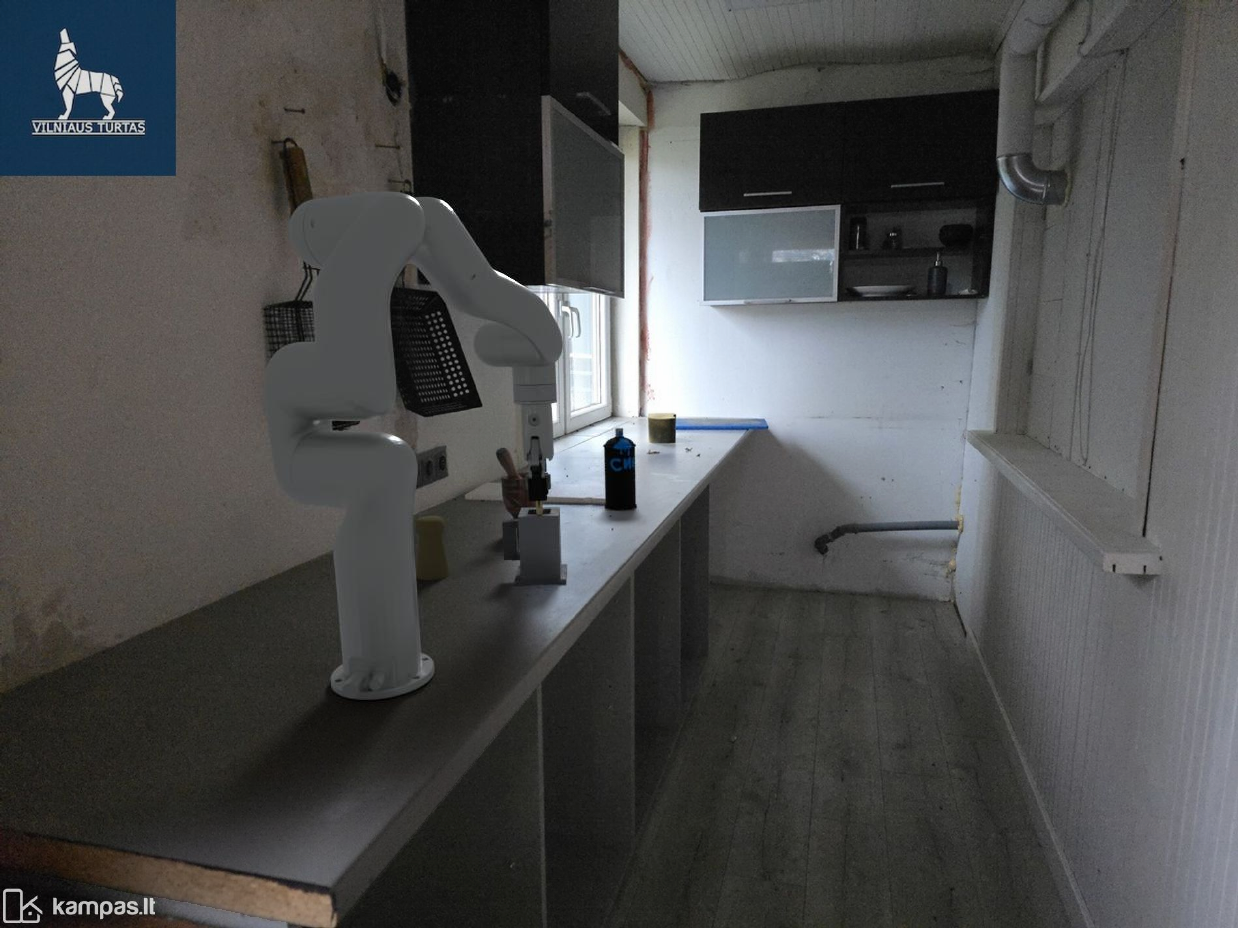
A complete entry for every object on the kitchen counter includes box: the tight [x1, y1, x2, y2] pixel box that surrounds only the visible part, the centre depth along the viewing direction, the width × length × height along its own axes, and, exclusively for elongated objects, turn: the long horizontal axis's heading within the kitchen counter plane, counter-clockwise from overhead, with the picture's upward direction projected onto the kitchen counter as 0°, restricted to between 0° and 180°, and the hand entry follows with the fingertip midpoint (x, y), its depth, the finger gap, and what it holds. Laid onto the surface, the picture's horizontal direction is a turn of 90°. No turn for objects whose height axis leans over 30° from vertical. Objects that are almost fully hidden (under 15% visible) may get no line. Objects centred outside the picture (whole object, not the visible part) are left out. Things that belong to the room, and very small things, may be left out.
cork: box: [415, 515, 451, 581], centre depth 138 cm, size 6×6×11 cm
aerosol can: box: [602, 427, 638, 511], centre depth 190 cm, size 8×8×20 cm
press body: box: [501, 506, 568, 586], centre depth 136 cm, size 9×11×12 cm
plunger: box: [526, 472, 552, 514], centre depth 135 cm, size 4×4×15 cm
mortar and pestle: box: [495, 447, 536, 538], centre depth 165 cm, size 12×9×20 cm
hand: (538, 496), depth 135 cm, fingers closed on plunger, 4 cm apart
